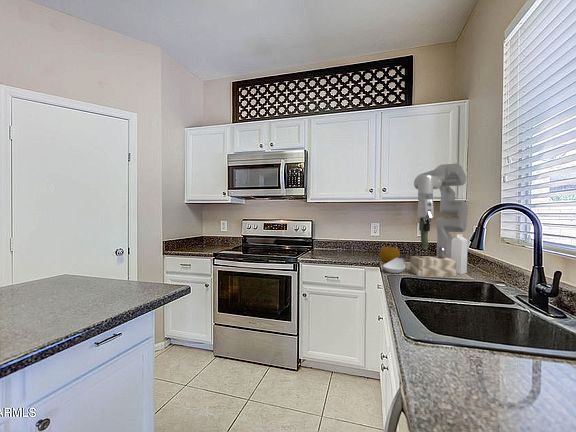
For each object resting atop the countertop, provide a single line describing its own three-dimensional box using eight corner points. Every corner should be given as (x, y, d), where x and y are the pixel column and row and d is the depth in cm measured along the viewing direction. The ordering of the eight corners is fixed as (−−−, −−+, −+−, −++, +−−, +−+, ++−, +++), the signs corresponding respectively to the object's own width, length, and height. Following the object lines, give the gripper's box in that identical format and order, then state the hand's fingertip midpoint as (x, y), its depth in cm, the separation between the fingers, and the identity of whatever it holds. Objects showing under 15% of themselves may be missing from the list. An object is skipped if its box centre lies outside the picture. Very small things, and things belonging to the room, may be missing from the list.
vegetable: (425, 249, 163) (426, 212, 162) (417, 248, 166) (418, 212, 166) (429, 249, 165) (430, 212, 165) (422, 248, 169) (423, 212, 168)
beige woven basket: (445, 272, 171) (445, 246, 171) (456, 276, 160) (456, 248, 160) (410, 271, 171) (410, 245, 171) (418, 275, 160) (419, 247, 160)
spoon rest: (401, 276, 161) (402, 262, 161) (379, 273, 167) (380, 260, 167) (411, 269, 181) (411, 257, 180) (391, 267, 187) (391, 255, 187)
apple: (379, 261, 205) (379, 245, 205) (399, 263, 201) (400, 246, 201) (378, 264, 193) (379, 247, 193) (400, 266, 189) (400, 248, 189)
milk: (450, 272, 173) (451, 233, 173) (456, 271, 176) (457, 233, 176) (461, 274, 168) (462, 234, 168) (467, 273, 171) (467, 234, 171)
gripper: (439, 196, 157) (438, 232, 157) (425, 198, 174) (424, 230, 174) (425, 196, 157) (424, 231, 157) (412, 198, 174) (411, 229, 174)
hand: (424, 230), depth 166 cm, fingers closed on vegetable, 4 cm apart
